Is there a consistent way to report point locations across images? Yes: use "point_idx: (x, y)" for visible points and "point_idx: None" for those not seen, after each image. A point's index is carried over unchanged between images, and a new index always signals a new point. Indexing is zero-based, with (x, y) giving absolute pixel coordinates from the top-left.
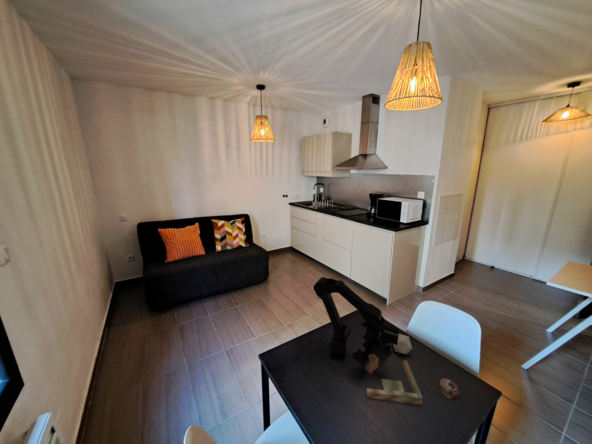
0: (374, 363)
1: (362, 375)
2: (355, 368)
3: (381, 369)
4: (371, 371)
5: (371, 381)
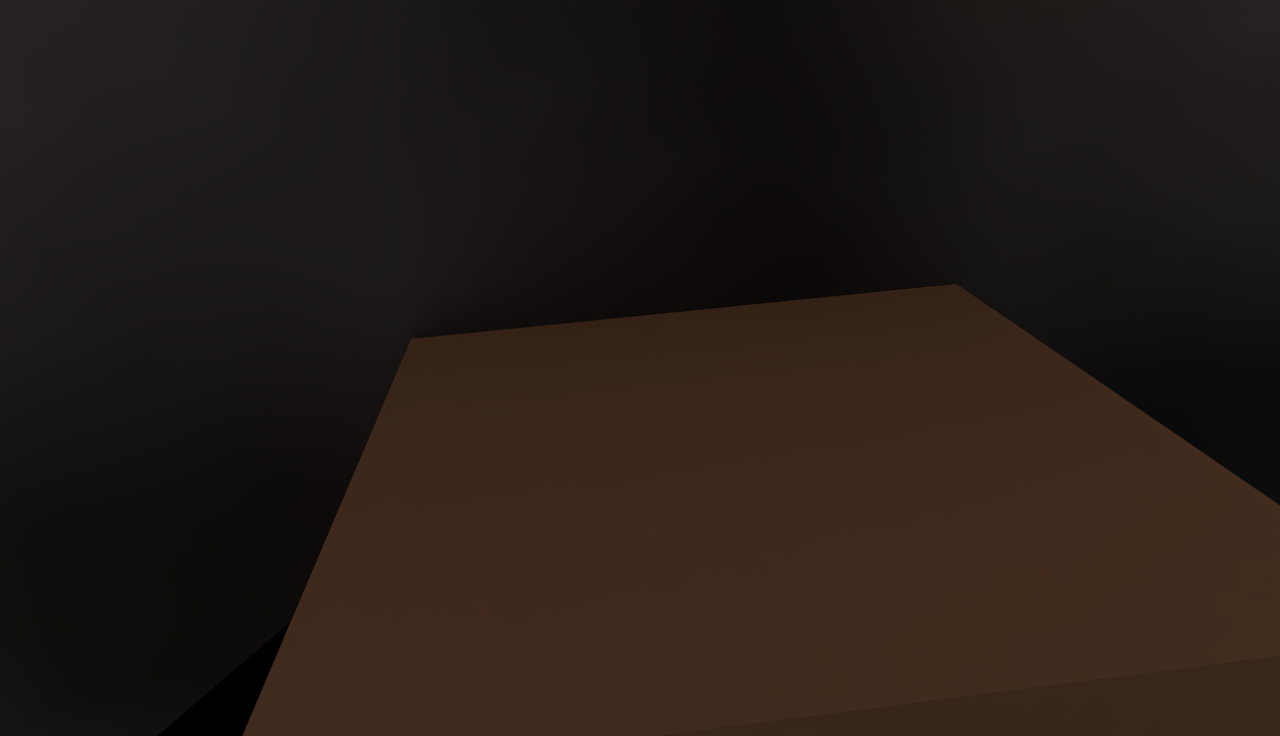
0: (870, 532)
1: (1255, 394)
2: None
3: (360, 167)
4: (942, 318)
5: (1262, 11)
